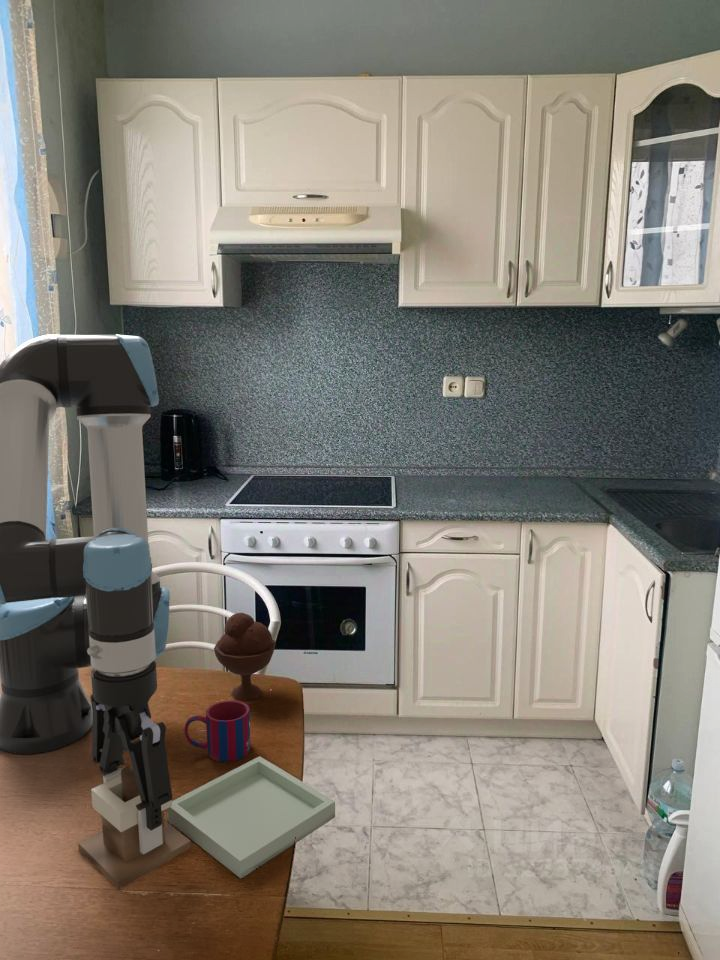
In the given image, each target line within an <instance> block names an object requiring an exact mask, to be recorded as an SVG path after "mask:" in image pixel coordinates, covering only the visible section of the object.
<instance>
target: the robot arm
mask: <svg viewBox="0 0 720 960" xmlns="http://www.w3.org/2000/svg"><path fill="white" fill-rule="evenodd" d="M154 367H155V366H154V362H153V358H152V352H151V349H150V347H149V344H148V343H147V340H145V339H144V338H143V337H142V336H137V335H127V334H118V333H116V334H45V335H40V336H37V337H34V338H32V339H29V340H27V341H26V342H24V343H22V344H21V345H20V346H18V347H16V348H15V349H14V350H13V351H12V352H10V354H8V355H7V356H6V357H5V358H4V360H3V361H1V363H0V686H1V695H0V750H2V751H3V752H4V751H5V752H7V753H12V754H17V755H18V754H19V755H21V754H22V755H32V754H39V753H40V754H41V753H46V752H49V751H55V750H58V749H61V748H63V747H67V746H69V745H70V744H73V743H75V742H77V741H78V740H80V739H81V738H83V737H84V736H85V735H86V734H87V733H89V731H90V730H92V736H91V738H92V740H91V741H92V742H91V743H92V744H91V747H92V748H91V754H92V756H91V758H92V759H91V760H92V761H93V763H94V764H95V765H96V764H98V765H99V771H100V773H101V774H102V775H103V776H102V781H103V784H104V783H106V782H108V781H110V780H112V779H114V778H117V777H119V776H121V770H122V769H123V768H124V767H121V766H123V765H125V764H126V765H127V762H126V760H125V759H124V752H128V753H129V757H130V762H131V765H132V767H133V771H134V775H135V779H136V783H137V787H138V791H139V795H140V799H141V802H140V803H138V804H137V805H136V807H137V809H138V826H139V843H140V852H141V853H142V854H143V855H144V854H145V853H147V852H149V851H151V850H153V849H154V848H156V847H158V846H160V845H162V844H163V838H162V813H161V805H163V804H165V803H167V802H169V801H171V800H172V801H173V791H172V784H171V783H172V782H171V777H170V769H169V762H168V761H169V760H168V754H167V745H166V734H167V733H166V732H167V726H166V724H165V723H164V722H163V721H161V722H159V723H155V721H153V720H152V713H151V711H150V707H149V701H150V699H152V697H153V695H154V694H156V692H157V689H158V680H157V679H158V677H157V675H158V674H157V662H156V661H155V660H156V659H157V658H159V657H160V656H162V655H163V653H164V652H165V649H166V648H167V641H168V633H169V626H170V602H171V601H170V600H171V599H170V598H171V597H170V589H169V588H168V587H165V586H161V578H160V577H159V576H158V575H157V574H156V573H155V572H154V571H153V563H152V556H151V553H150V552H151V551H150V545H149V532H148V531H149V528H148V510H147V494H146V477H145V476H146V475H145V473H146V472H145V458H144V444H143V442H144V441H143V426H144V425H145V424H146V422H147V421H148V420H149V419H150V418H151V416H152V415H151V407H152V408H153V407H155V406H156V407H157V406H158V405H159V402H160V399H159V391H158V383H157V377H156V371H155V368H154ZM57 408H75V409H76V410H75V411H76V419H77V421H79V422H80V423H81V424H82V425H83V426H85V428H86V430H87V445H88V446H87V447H88V460H89V477H90V479H89V480H90V495H91V511H92V512H91V513H92V530H93V535H91V536H81V537H67V538H66V537H65V538H52V539H51V538H50V539H47V518H48V515H47V513H48V510H47V509H48V481H49V480H48V478H49V477H48V476H49V475H48V474H49V438H50V436H49V435H50V420H52V419H53V418H54V416H55V415H56V411H57ZM91 667H92V669H91V670H90V677H91V689H92V691H91V692H92V694H90V697H89V698H90V700H89V698H88V695H87V694H86V691H85V689H84V688H83V685H82V683H81V681H80V676H79V669H83V668H91ZM134 740H135V741H134Z"/></svg>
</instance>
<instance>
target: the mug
mask: <svg viewBox="0 0 720 960" xmlns="http://www.w3.org/2000/svg"><path fill="white" fill-rule="evenodd" d="M250 713H251V711H250V706H249V705H248V704H247V703H245V702H244V701H241V700H223V701H219V702H216V703H213V704H212V705H210V706H209V707H208V708H207V709H206V711H205V716H202V715H201V716H200V715H195V716H192V717H189V718H188V719H187V721H185V725H184V735H185V736H184V737H185V740H186V741H187V742H188V743H189V745H191V746H193V747H195V748H198V749H202V750H204V749H205V750H207V755H208V757H209V758H210V759H212V760H214V761H217V762H222V763H231V762H235V761H239V760H241V759H243V758H245V757H246V756H248V754H250V752H251V722H250V721H251V718H250V717H251V716H250ZM196 721H197V722H202V723H203V724H205V728H206V742H199V741H196V740H193V739H192V738H191V737H190V735H189V731H188V730H189V726H190V724H191V723H192V722H196Z"/></svg>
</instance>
